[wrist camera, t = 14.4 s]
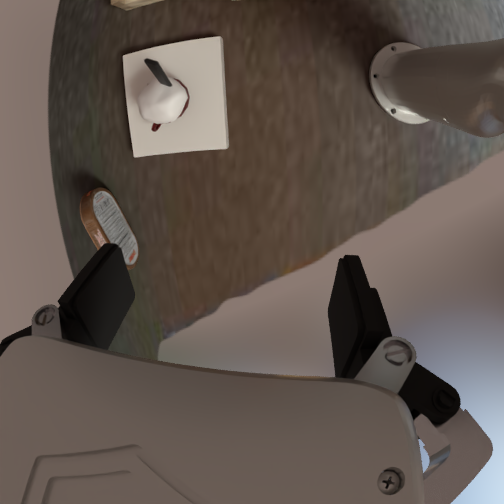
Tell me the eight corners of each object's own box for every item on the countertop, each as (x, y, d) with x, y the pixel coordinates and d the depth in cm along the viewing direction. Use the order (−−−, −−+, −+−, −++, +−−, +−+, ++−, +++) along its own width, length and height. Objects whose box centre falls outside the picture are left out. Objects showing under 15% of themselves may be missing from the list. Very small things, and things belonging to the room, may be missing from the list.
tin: (96, 184, 42) (69, 205, 35) (109, 178, 42) (82, 198, 34) (134, 255, 50) (116, 283, 43) (147, 251, 49) (129, 280, 42)
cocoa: (168, 133, 36) (129, 159, 26) (138, 105, 33) (91, 123, 24) (216, 85, 32) (190, 92, 22) (183, 56, 29) (145, 52, 19)
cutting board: (222, 38, 29) (220, 36, 28) (229, 145, 38) (226, 148, 36) (129, 56, 30) (122, 55, 29) (139, 154, 39) (134, 157, 37)
